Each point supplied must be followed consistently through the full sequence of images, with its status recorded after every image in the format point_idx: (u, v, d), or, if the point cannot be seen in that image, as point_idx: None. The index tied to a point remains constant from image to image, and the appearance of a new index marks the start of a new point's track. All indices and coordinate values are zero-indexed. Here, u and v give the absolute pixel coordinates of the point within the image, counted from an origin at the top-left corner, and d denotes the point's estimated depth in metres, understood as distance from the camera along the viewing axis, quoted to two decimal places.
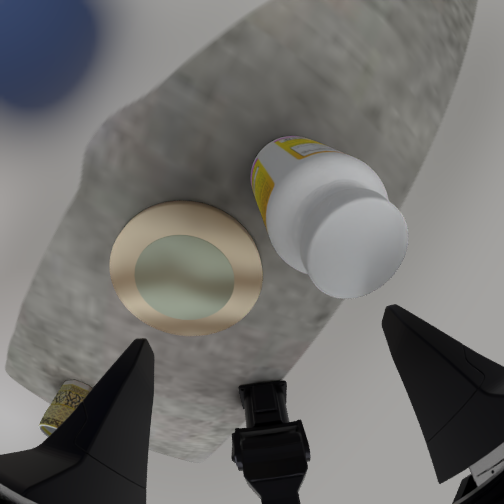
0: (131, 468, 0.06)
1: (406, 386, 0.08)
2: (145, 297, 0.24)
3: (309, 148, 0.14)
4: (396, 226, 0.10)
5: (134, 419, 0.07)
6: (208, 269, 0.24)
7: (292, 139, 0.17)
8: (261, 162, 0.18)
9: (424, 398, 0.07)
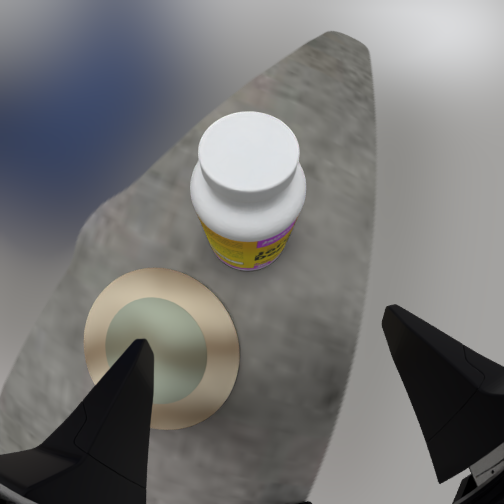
0: (131, 468, 0.06)
1: (406, 386, 0.08)
2: None
3: None
4: (273, 124, 0.12)
5: (134, 419, 0.07)
6: (177, 334, 0.21)
7: None
8: None
9: (424, 398, 0.07)
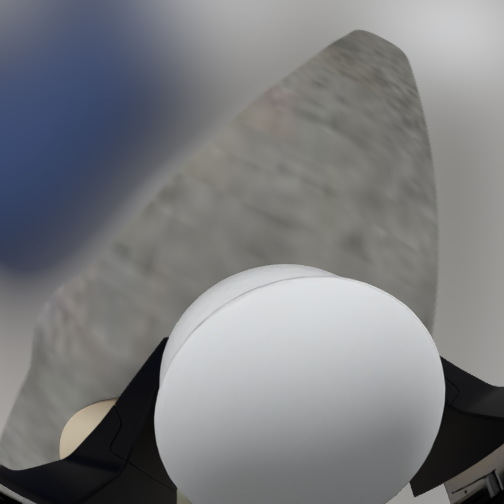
0: (165, 472, 0.06)
1: None
2: None
3: None
4: (394, 334, 0.04)
5: None
6: None
7: None
8: None
9: None
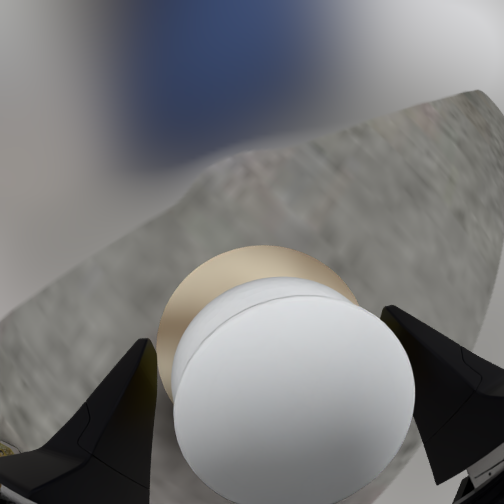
0: (135, 468, 0.06)
1: None
2: None
3: None
4: (368, 343, 0.04)
5: (137, 419, 0.07)
6: None
7: None
8: None
9: (421, 399, 0.07)
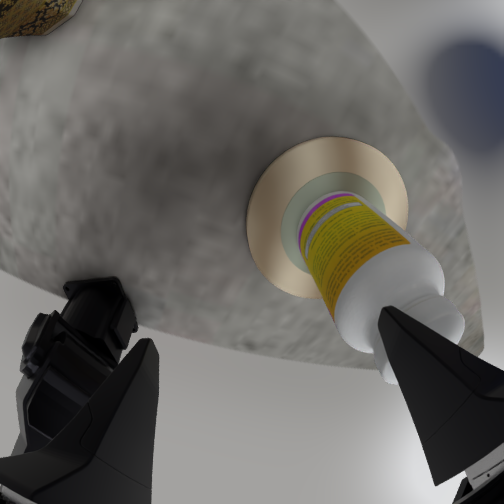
0: (137, 469, 0.06)
1: (402, 388, 0.08)
2: (322, 179, 0.19)
3: None
4: None
5: (140, 419, 0.07)
6: None
7: None
8: (366, 205, 0.17)
9: (420, 400, 0.07)
